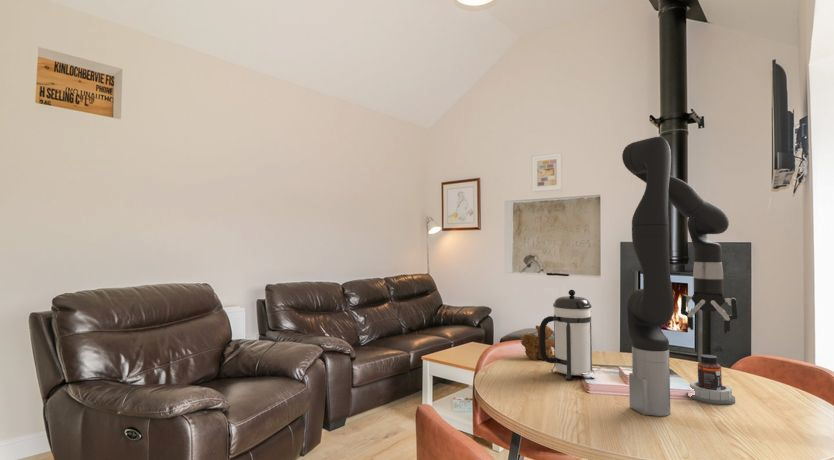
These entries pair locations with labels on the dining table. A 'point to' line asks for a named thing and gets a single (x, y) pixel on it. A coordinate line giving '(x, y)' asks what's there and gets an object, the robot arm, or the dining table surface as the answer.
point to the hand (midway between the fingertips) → (708, 331)
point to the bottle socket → (713, 395)
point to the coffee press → (570, 336)
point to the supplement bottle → (709, 373)
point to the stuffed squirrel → (537, 344)
